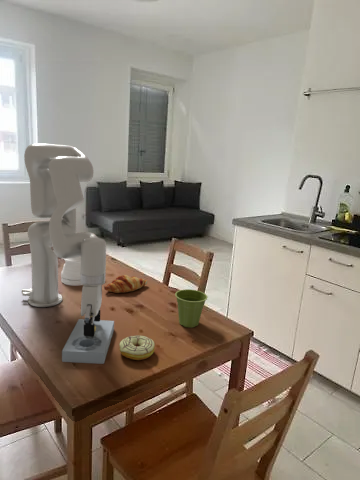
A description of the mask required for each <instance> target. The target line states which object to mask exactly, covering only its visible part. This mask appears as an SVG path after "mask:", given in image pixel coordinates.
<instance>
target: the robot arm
mask: <svg viewBox="0 0 360 480" xmlns="http://www.w3.org/2000/svg"><path fill="white" fill-rule="evenodd" d="M23 159H24V165H25V169H26V171H27V175H28V177H29V185H30V186H29V187H30V189H29V190H30V208H31V213H32V214H33V216H34V217H35V218H40V219H48V218H49V219H50V220H43V221H36V222H34V223H32V224H30V225H29V226H28V228H27V238H28V242H29V243H28V244H29V249H30V261H31V264H30V265H31V288H29V289H28V288H22V289H21V294H22V296H23V297H28V298H27V303H28V304H29V305H30V306H33V307H36V308H37V307H38V308H46V307H47V308H48V307H54V306H56V305H58V304H60V303H62V302H63V296H62V294H60V293H59V259H62V260H64V259H68V258H74V257H80V256H81V284H82V285H81V286H82V289H81V301H80V303H81V304H80V316H81V317H83V316H84V336H94V334H95V324H94V321H98V322H99V321H100V320H101V306H102V301H103V299H102V298H103V285H105V283H106V270H107V269H106V267H107V266H106V265H107V242H106V240H105V239H103V238H101V237H99V236H97V235H96V234H95V233H93V232H90V231H86V232H77V208H78V207H80V206H82V205H83V203H84V201H85V200H84V199H85V198H84V195H83V191H82V187H81V183H88V182H91V181H92V179H93V178H94V167H93V164H92V162H91V160H90V159H89V158H88V157H87V156H86V155H85V153H83V152H82V151H81V150H79V149H78V148H77V147H74V146H72V145H67V144H66V145H65V144H56V143H55V144H53V143H45V142H44V143H43V142H42V143H39V142H38V143H32V144H30V145H27V146H26V148H25V151H24V157H23Z"/></svg>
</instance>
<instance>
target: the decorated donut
mask: <svg viewBox="0 0 360 480" xmlns="http://www.w3.org/2000/svg"><path fill="white" fill-rule="evenodd" d="M155 347H156V345H155V341H154V340H153V339H152V338H150V337H148V336H146V335H130V336H127V337H125V338H123V339H122V340H121V341H120V342H119V353H120V354H121V356H123V357H125V358H127V359H130V360H133V361H134V360H136V361H141V360H146V359H148V358H150V357H151V356H152V355H153V354H154V352H155V349H156V348H155Z"/></svg>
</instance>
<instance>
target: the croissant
mask: <svg viewBox="0 0 360 480" xmlns="http://www.w3.org/2000/svg"><path fill="white" fill-rule="evenodd" d="M147 284H148V280H147V279H146V280H145V279H144V278H139V277H137V276H134V275H133V276H131V277H130V276H129V275H128V274H123V275H118V276H117V277H116V278H115V279H113V280H112V281H111V283H108V284H106V285H104V286H103V287H104V290H105V291H107V292H108V293H109V292H111V293H114V294H115V293H117V294H119V293H128V292H134V291H136V290H138V289H141V288H143V287H145V286H147Z"/></svg>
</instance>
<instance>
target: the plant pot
mask: <svg viewBox="0 0 360 480" xmlns="http://www.w3.org/2000/svg"><path fill="white" fill-rule="evenodd" d="M174 297H175V298H176V302H177V310H178V313H177V314H178V322H179V323H178V324H179V325H181V326H183V327H184V328H195V327H197V326H199V323H200V321H201V320H200V319H201V316H202V314H203V313H202V312H203V309H204V306H205V303H206V301H207V300H208V298H209V296H208V294H206V293H204V291H203V292H202V291H200V290H197V289H190V288H189V289H188V288H187V289H179V290H177V291H176V292H175V296H174Z"/></svg>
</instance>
